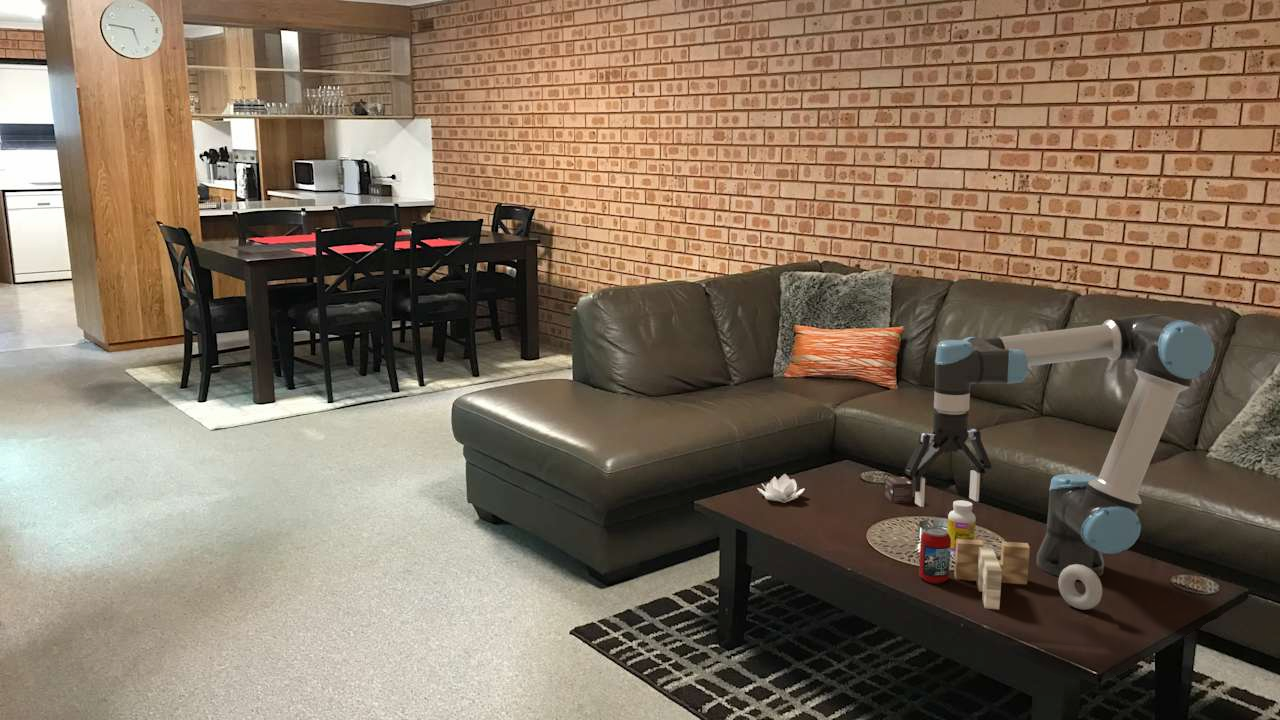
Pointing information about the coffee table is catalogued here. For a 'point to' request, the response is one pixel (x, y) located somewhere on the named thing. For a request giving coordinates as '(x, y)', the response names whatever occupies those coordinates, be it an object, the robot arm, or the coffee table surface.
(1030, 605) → the coffee table surface
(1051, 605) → the coffee table surface
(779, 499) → the lotus flower
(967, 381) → the robot arm
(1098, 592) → the donut
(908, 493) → the box
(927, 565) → the beverage can
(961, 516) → the supplement bottle
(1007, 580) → the oak rail
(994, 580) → the notched cream plank
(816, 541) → the coffee table surface
